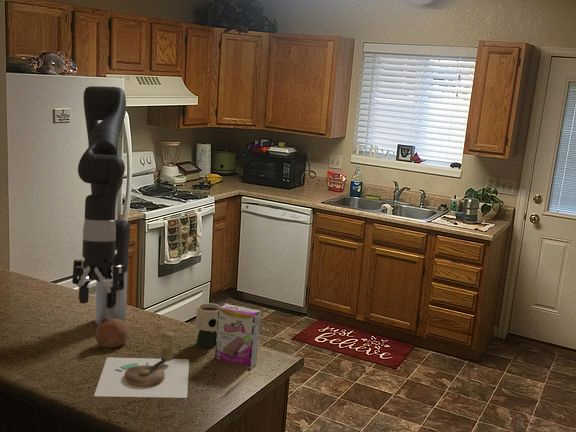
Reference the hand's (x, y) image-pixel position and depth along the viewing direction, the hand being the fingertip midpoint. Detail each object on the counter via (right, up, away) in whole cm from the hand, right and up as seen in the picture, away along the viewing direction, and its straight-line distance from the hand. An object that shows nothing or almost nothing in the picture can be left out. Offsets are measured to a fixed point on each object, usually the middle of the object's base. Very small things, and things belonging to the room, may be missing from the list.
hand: (97, 305), depth 154 cm
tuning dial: (+11, -19, +13) cm, 25 cm away
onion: (-5, -17, +30) cm, 35 cm away
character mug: (+22, -18, +35) cm, 45 cm away
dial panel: (+9, -22, +10) cm, 25 cm away
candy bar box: (+31, -20, +26) cm, 45 cm away
